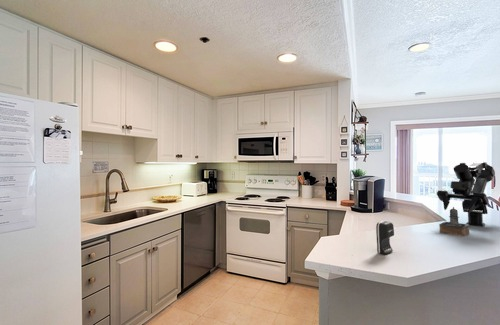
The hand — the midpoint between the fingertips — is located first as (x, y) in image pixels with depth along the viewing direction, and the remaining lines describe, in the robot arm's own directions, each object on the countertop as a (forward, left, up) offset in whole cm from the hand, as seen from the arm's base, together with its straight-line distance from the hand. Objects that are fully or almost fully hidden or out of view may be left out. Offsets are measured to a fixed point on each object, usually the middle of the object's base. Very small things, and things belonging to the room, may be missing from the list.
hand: (456, 210), depth 116 cm
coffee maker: (+54, -9, -10) cm, 55 cm away
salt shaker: (+3, 0, -10) cm, 11 cm away
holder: (+3, 0, -10) cm, 10 cm away
